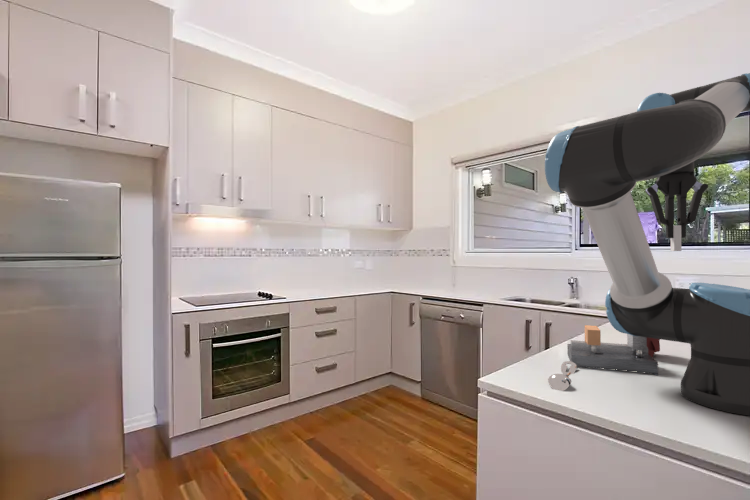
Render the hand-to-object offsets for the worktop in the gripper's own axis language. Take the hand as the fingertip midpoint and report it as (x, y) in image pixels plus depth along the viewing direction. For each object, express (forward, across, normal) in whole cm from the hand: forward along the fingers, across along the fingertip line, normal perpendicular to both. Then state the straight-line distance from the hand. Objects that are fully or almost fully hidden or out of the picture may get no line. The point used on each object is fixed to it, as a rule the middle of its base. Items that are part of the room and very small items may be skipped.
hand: (675, 250), depth 99 cm
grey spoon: (+31, +27, +17) cm, 45 cm away
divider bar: (+27, +15, 0) cm, 31 cm away
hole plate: (+30, +15, 0) cm, 34 cm away
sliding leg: (+27, +19, 0) cm, 33 cm away
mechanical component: (+31, +4, -14) cm, 34 cm away
